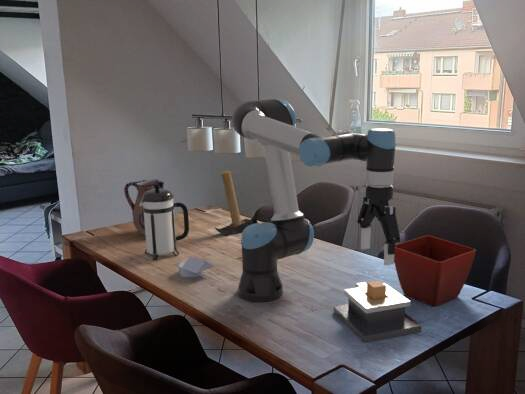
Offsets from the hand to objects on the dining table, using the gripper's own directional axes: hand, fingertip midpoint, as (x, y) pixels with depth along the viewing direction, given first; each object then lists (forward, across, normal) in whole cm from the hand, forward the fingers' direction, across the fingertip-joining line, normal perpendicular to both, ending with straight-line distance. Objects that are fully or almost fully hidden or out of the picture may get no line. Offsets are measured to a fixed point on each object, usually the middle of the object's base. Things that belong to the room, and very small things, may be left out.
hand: (376, 256), depth 152 cm
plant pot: (+21, +9, -26) cm, 35 cm away
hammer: (+22, +101, +16) cm, 105 cm away
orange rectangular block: (+18, 0, 0) cm, 19 cm away
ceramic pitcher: (+22, +114, +55) cm, 129 cm away
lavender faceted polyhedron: (+22, +56, +44) cm, 75 cm away
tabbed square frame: (+20, -1, 0) cm, 21 cm away
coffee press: (+22, +83, +52) cm, 101 cm away
